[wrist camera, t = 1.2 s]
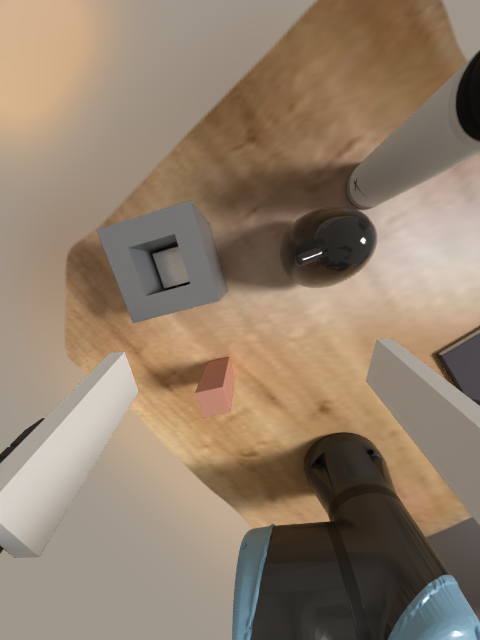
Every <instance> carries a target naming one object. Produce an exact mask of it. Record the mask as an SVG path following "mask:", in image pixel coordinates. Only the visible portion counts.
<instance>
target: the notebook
mask: <svg viewBox="0 0 480 640" xmlns="http://www.w3.org/2000/svg"><path fill="white" fill-rule="evenodd" d="M436 354H437V355H438V357H439V359H440V360H441V362H442V364H443V365H444V367H445V369H446V370H447V372H448V373H449V375H450V377H451V378H452V380H453V382H454V383H455V385H456V387H457V388H458V390H460V391H461V392H462V393H464V394H465V395H466V396H467V397H469V398H470V399H476V400H478V401H480V329H479V330H478V331H476V332H474V333H472V334H471V335H469V336H467V337H466V338H464V339H462V340H461V341H459V342H457V343H455V344H454V345H452V346H450V347H449V348H447V349H445V350H443V351H442V352H440V353H436Z"/></svg>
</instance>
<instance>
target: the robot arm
mask: <svg viewBox="0 0 480 640" xmlns="http://www.w3.org/2000/svg"><path fill="white" fill-rule="evenodd" d="M366 382H367V383H368V384H369V385H370V387H371V388H372V389H373V391H374V392H375V393H376V394H377V396H378V397H379V398H380V399H381V401H382V402H383V403H384V404H385V406H386V407H387V408H388V410H389V411H390V412H391V413H392V415H393V416H394V417H395V418H396V420H397V421H398V422H399V424H400V425H401V426H402V427H403V429H404V430H405V431H406V432H407V434H408V435H409V436H410V437H411V439H412V440H413V441H414V443H415V444H416V445H417V446H418V448H419V449H420V450H421V451H422V453H423V454H424V455H425V457H426V458H427V459H428V460H429V462H430V463H431V464H432V465H433V467H434V468H435V469H436V470H437V472H438V473H439V474H440V476H441V477H442V478H443V479H444V481H445V482H446V483H447V484H448V486H449V487H450V488H451V490H452V491H453V492H454V493H455V495H456V496H457V497H458V498H459V500H460V501H461V502H462V503H463V505H464V506H465V507H466V509H467V510H468V511H469V512H470V514H471V515H472V516H473V517H474V519H475V520H476V521H477V522H478V524H479V525H480V401H478V400H476V399H470V398H469V397H467V396H466V395H465V394H464V393H462V392H461V391H460V390H458V389H457V388H456V387H454V386H453V385H452V384H451V383H449V382H448V381H447V380H445V379H444V378H443V377H441V376H440V375H439V374H438V373H436V372H435V371H434V370H432V369H431V368H430V367H428V366H427V365H426V364H425V363H423V362H422V361H421V360H419V359H418V358H417V357H416V356H414V355H413V354H412V353H410V352H409V351H408V350H406V349H405V348H404V347H403V346H401V345H400V344H399V343H397V342H396V341H395V340H393V339H392V338H388V339H377V340H376V344H375V348H374V351H373V355H372V359H371V363H370V367H369V371H368V375H367V379H366ZM137 393H138V389H137V386H136V383H135V380H134V377H133V375H132V372H131V369H130V366H129V363H128V361H127V358H126V355H125V352H115V353H109V354H108V355H107V356H106V357H105V358H104V359H103V360H102V362H101V363H100V364H99V365H98V366H97V367H96V368H95V369H94V370H93V371H92V372H91V373H90V374H89V375H88V376H87V377H86V378H85V379H84V380H83V381H82V382H81V383H80V384H79V385H78V386H77V387H76V388H75V389H74V390H73V391H72V392H71V393H70V394H69V395H68V396H67V397H66V398H65V399H64V400H63V401H62V402H61V403H60V404H59V405H58V406H57V407H56V408H55V409H54V410H53V411H52V412H51V413H50V414H49V415H48V416H47V417H46V418H42V419H41V420H39V421H38V422H36V423H35V424H33V425H32V426H30V427H29V428H28V429H26V430H25V431H24V432H23V433H22V434H21V435H20V436H19V437H18V438H17V439H16V440H15V441H14V442H13V443H12V444H11V446H10V447H7V448H6V449H5V450H4V451H3V452H2V453H1V454H0V553H1V552H2V550H3V549H4V550H5V551H7V552H8V553H9V554H10V555H12V556H13V557H14V558H16V557H17V558H19V557H39V556H40V555H41V553H42V552H43V550H44V548H45V546H46V545H47V543H48V542H49V540H50V538H51V537H52V535H53V533H54V532H55V530H56V528H57V527H58V525H59V523H60V522H61V520H62V518H63V517H64V515H65V513H66V512H67V510H68V508H69V507H70V505H71V503H72V502H73V500H74V498H75V497H76V495H77V493H78V491H79V490H80V488H81V487H82V485H83V483H84V482H85V480H86V478H87V477H88V475H89V473H90V471H91V470H92V468H93V466H94V464H95V463H96V462H97V460H98V458H99V456H100V455H101V453H102V451H103V450H104V448H105V446H106V445H107V443H108V441H109V440H110V438H111V436H112V435H113V433H114V431H115V430H116V428H117V426H118V425H119V423H120V421H121V420H122V418H123V416H124V415H125V413H126V411H127V410H128V408H129V406H130V405H131V403H132V401H133V400H134V398H135V396H136V395H137ZM304 469H305V473H306V477H307V480H308V483H309V485H310V487H311V489H312V491H313V492H314V494H315V495H316V497H317V498H318V500H319V501H320V503H321V505H322V506H323V508H324V509H325V511H326V512H327V514H328V516H329V519H330V522H318V523H305V524H292V525H279V526H275V525H274V524H271V525H270V526H268V527H262V528H255V529H251V530H249V531H248V532H247V533H246V535H245V536H244V538H243V540H242V543H241V547H240V551H239V556H238V563H237V570H236V579H235V590H234V603H233V626H232V627H233V628H232V632H233V633H232V640H480V622H479V620H478V619H477V617H476V615H475V614H474V612H473V611H472V609H471V607H470V605H469V604H468V602H467V600H466V599H465V597H464V596H463V594H462V592H461V591H460V589H459V586H458V584H457V582H456V580H455V579H454V578H453V576H451V575H450V574H449V572H448V570H447V569H446V568H445V566H444V565H443V563H442V562H441V560H440V559H439V557H438V556H437V554H436V553H435V551H434V550H433V548H432V547H431V545H430V544H429V542H428V541H427V539H426V538H425V536H424V535H423V533H422V532H421V530H420V529H419V527H418V526H417V524H416V523H415V521H414V520H413V518H412V517H411V515H410V514H409V512H408V511H407V509H406V508H405V506H404V505H403V504H402V502H401V501H400V499H399V498H398V496H397V494H396V492H395V489H394V486H393V483H392V480H391V477H390V474H389V471H388V468H387V465H386V462H385V460H384V458H383V456H382V455H381V453H380V452H379V451H378V449H377V448H376V446H375V445H374V444H373V443H372V442H371V441H369V440H368V439H366V438H365V437H362V436H360V435H357V434H351V433H339V434H333V435H330V436H327V437H325V438H323V439H321V440H319V441H318V442H317V443H315V444H314V445H313V446H312V447H311V449H310V450H309V451H308V453H307V455H306V458H305V462H304Z"/></svg>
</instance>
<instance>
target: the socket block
mask: <svg viewBox="0 0 480 640" xmlns="http://www.w3.org/2000/svg"><path fill="white" fill-rule="evenodd" d="M97 233H98V235H99V238H100V240H101V243H102V245H103V248H104V250H105V253H106V256H107V258H108V261H109V263H110V266H111V268H112V271H113V273H114V276H115V278H116V281H117V284H118V286H119V289H120V291H121V294H122V296H123V299H124V301H125V304H126V307H127V309H128V312H129V314H130V317H131V319H132V322H133V323H136V322H140V321H143V320H147V319H151V318H155V317H159V316H163V315H166V314H170V313H174V312H178V311H182V310H185V309H189V308H193V307H197V306H201V305H205V304H208V303H212V302H216V301H219V300H220V299H221V298H222V297H223V296H224V295H225V294H226V293H227V292H228V289H227V286H226V282H225V278H224V275H223V271H222V268H221V264H220V260H219V257H218V253H217V249H216V246H215V242H214V239H213V235H212V231H211V228H210V224H209V222H208V221H207V220H206V219H205V217H204V216H203V215H202V214H201V213H200V211H199V210H198V209H197V208H196V207H195V205H194V204H193V203H192V202H191V201H186V202H183V203H180V204H177V205H174V206H170V207H167V208H164V209H161V210H158V211H154V212H151V213H148V214H145V215H142V216H139V217H135V218H132V219H129V220H126V221H123V222H119V223H116V224H113V225H110V226H107V227H104V228H100V229H97ZM178 246H179V249H180V253H181V256H182V259H183V262H184V265H185V268H186V272H187V275H188V278H189V281H190V284H188V285H185V286H181V287H178V288H176V285H175V286H172V287H168V288H164V286H163V283H162V280H161V277H160V275H159V272H158V269H157V266H156V263H155V260H154V257H153V254H154V253H157V252H161V251H164V250H168V249H171V248H174V247H178Z"/></svg>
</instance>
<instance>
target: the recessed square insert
mask: <svg viewBox="0 0 480 640" xmlns="http://www.w3.org/2000/svg"><path fill="white" fill-rule="evenodd" d="M153 257H154V260H155V263H156V266H157V269H158V272H159V275H160V277H161V280H162V283H163V286H164V288H168V287H172V286H175V285H179V284H183V283H186V282H190V281H189V278H188V275H187V272H186V268H185V265H184V262H183V259H182V256H181V253H180V249H179V246H178V247H174V248H171V249H168V250H164V251H161V252H157V253H154V254H153Z"/></svg>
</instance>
